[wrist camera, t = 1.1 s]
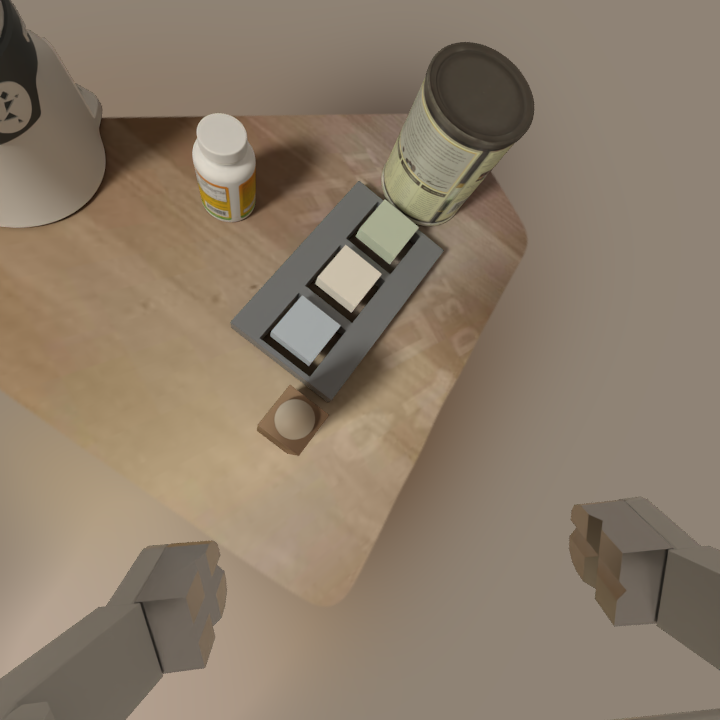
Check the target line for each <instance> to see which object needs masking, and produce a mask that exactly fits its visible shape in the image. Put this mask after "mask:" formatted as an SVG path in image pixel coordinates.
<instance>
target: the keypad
mask: <svg viewBox="0 0 720 720" xmlns="http://www.w3.org/2000/svg"><path fill="white" fill-rule="evenodd" d="M382 202H383V200H382V199H381V198H380V197H378V196H377V195H376V194H375V193H373V192H372V191H371V190H370V189H369V188H367V187H366V186H365V185H364V184H363V183H361V182H360V181H358V182H357V183H356V184H355V185H354V187H353V188H352V189H351V190H350V191H349V192H348V193H347V194H346V195H345V196H344V198H343V199H342V200H341V201H340V202H339V203H338V204H337V205H336V206H335V207H334V209H333V210H332V211H331V212H330V213H329V214H328V215H327V216H326V217H325V218H324V220H323V221H322V222H321V223H320V224H319V225H318V226H317V227H316V228H315V229H314V231H313V232H312V233H311V234H310V235H309V236H308V237H307V238H306V239H305V240H304V242H303V243H302V244H301V245H300V246H299V247H298V248H297V249H296V250H295V251H294V253H293V254H292V255H291V256H290V257H289V258H288V259H287V260H286V261H285V262H284V264H283V265H282V266H281V267H280V268H279V269H278V270H277V271H276V272H275V273H274V275H273V276H272V277H271V278H270V279H269V280H268V281H267V282H266V283H265V284H264V286H263V287H262V288H261V289H260V290H259V291H258V292H257V293H256V294H255V295H254V297H253V298H252V299H251V300H250V301H249V302H248V303H247V304H246V305H245V306H244V308H243V309H242V310H241V311H240V312H239V313H238V314H237V315H236V316H235V317H234V319H233V320H232V321H231V322H230V323H231V328H232V329H234V330H235V331H236V332H238V333H239V334H240V335H241V336H243V337H244V338H245V339H247V340H248V341H249V342H250V343H252V344H253V345H254V346H256V347H257V348H258V349H260V350H261V351H262V352H263V353H265V354H266V355H267V356H269V357H270V358H271V359H272V360H274V361H275V362H276V363H278V364H279V365H280V366H282V367H283V368H284V369H285V370H287V371H288V372H289V373H291V374H292V375H293V376H294V377H296V378H297V379H298V380H300V381H301V382H302V383H304V384H305V385H306V386H307V387H309V388H310V389H311V390H313V391H314V392H315V393H317V394H318V395H319V396H320V397H322V398H323V399H324V400H326V401H327V402H330V401H331V400H332V399H333V398H334V396H335V395H336V394H337V392H338V391H339V390H340V388H341V387H342V386H343V384H344V383H345V382H346V380H347V379H348V378H349V376H350V375H351V374H352V372H353V371H354V370H355V368H356V367H357V366H358V364H359V363H360V362H361V360H362V359H363V358H364V356H365V355H366V354H367V352H368V351H369V350H370V348H371V347H372V346H373V344H374V343H375V342H376V340H377V339H378V338H379V336H380V335H381V334H382V332H383V331H384V330H385V328H386V327H387V326H388V324H389V323H390V322H391V320H392V319H393V318H394V316H395V315H396V314H397V312H398V311H399V310H400V308H401V307H402V306H403V304H404V303H405V302H406V300H407V299H408V298H409V296H410V295H411V294H412V292H413V291H414V290H415V288H416V287H417V286H418V284H419V283H420V282H421V280H422V279H423V278H424V276H425V275H426V274H427V272H428V271H429V270H430V268H431V267H432V266H433V264H434V263H435V262H436V260H437V259H438V258H439V256H440V255H441V254H442V252H443V251H444V250H443V249H441V248H440V247H439V246H438V245H436V244H435V243H434V242H433V241H432V240H430V239H429V238H428V237H427V236H426V235H424V234H423V233H422V232H421V231H420V230H418V229H417V231H416V232H415V233H414V235H413V236H412V237H411V239H410V240H409V241H410V242H411V243H412V244H414V245H413V246H412V248H411V249H410V250H409V252H408V253H407V254H406V255H405V257H404V258H403V259H402V260H401V262H400V263H399V264H398V266H397V267H396V268H395V269H394V271H393V272H392V273H391V274H389V273H388V272H387V271H386V270H384V269H383V268H382V267H381V266H380V265H378V264H377V263H376V262H375V261H373V260H372V259H371V258H370V257H368V256H367V255H366V254H365V253H363V252H362V251H361V250H360V249H359V248H357V247H356V246H355V245H354V244H352V243H351V242H350V241H349V240H348V239H349V238H350V237H351V236H352V235H353V234H354V233H355V231H356V230H357V229H358V228H359V227H360V226H361V224H362V223H363V222H364V221H365V220H366V219H367V217H368V216H369V215H370V214H371V213H372V212H374V211H375V210H376V209H377V208H378V206H379V205H380V204H381V203H382ZM345 245H347V246H348V247H349V248H350V249H352V250H353V251H354V252H355V253H357V254H358V255H359V256H360V257H362V258H363V259H364V260H365V261H366V262H368V263H369V264H370V265H371V266H373V267H374V268H375V269H376V270H378V271H379V272H380V273H381V274H382V275H381V276H380V277H379V279H378V280H377V281H376V283H375V285H377V286H378V287H379V290H378V291H377V292H376V293H375V295H374V296H373V297H372V299H371V300H370V301H369V302H368V304H367V305H366V306H365V307H364V309H363V310H362V311H361V313H360V314H359V315H358V316H357V318H356V319H355V320H354V321H353V323H352V322H350V321H349V320H348V319H346V318H345V317H344V316H343V315H341V314H340V313H339V312H338V311H336V310H335V309H334V308H333V307H331V306H330V305H329V304H328V303H326V302H325V301H324V300H323V299H321V298H320V297H319V296H317V295H316V294H315V293H314V292H312V291H311V290H310V289H309V288H307V287H308V286H309V285H310V284H311V282H312V281H313V280H314V279H315V278H316V277H317V275H318V274H319V273H320V272H321V271H322V270H323V268H324V267H325V266H326V265H327V264H328V263H329V262H330V260H331V259H332V258H333V257H334V256H335V255H336V253H337V254H338V253H339V252H340V251H341V249H342V248H343V247H344V246H345ZM302 295H303V296H304V297H305V298H306V299H308V300H309V301H310V302H311V303H313V304H314V305H315V306H317V307H318V308H319V309H320V310H322V311H323V312H324V313H325V314H327V315H328V316H329V317H330V318H332V319H333V320H334V321H335V322H337V323H338V324H339V325H341V326H340V327H339V329H338V330H337V332H339V333H340V334H341V335H342V337H341V338H340V339H339V341H338V342H337V343H336V344H335V346H334V347H333V348H332V349H331V351H330V352H329V353H328V355H327V356H326V357H325V358H324V360H323V361H322V362H321V363H320V365H319V366H318V367H317V369H316V370H315V371H314V372H313V374H312V375H311V376H310V377H309V376H308V375H307V374H305V373H304V372H303V371H302V370H300V369H299V368H298V367H296V366H295V365H294V364H292V363H291V362H290V361H289V360H287V359H286V358H285V357H283V356H282V355H281V354H280V353H278V352H277V351H276V350H274V349H273V348H272V347H271V346H269V345H268V344H267V343H265V342H264V341H263V340H262V339H263V338H264V337H265V336H266V335H267V333H268V332H269V331H270V330H271V329H272V328H273V326H274V325H275V324H276V323H277V322H278V321H279V320H280V318H281V317H282V316H283V315H284V314H285V313H286V311H287V310H288V309H289V308H290V307H291V306H292V304H293V303H294V302H295V301H296V300H298V299H299V298H300V297H301V296H302Z"/></svg>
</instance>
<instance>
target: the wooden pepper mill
mask: <svg viewBox="0 0 720 720" xmlns="http://www.w3.org/2000/svg"><path fill="white" fill-rule="evenodd" d="M328 416H329V414H327V413H326V412H325V411H324V410H322V409H321V408H320V407H318V406H317V405H316V404H315V403H313V402H312V401H311V400H309V399H308V398H307V397H305V396H304V395H303V394H302V393H300V392H299V391H298V390H296V389H295V388H294V387H292V386H291V385H289V386H288V388H287V389H286V390H285V391H284V393H283V394H282V395H281V396H280V398H279V399H278V400H277V401H276V403H275V404H274V405H273V406H272V408H271V409H270V410H269V411H268V413H267V414H266V415H265V416H264V418H263V419H262V420H261V421H260V423H259V424H258V427H257V431H258V432H259V433H261V434H262V435H263V436H265V437H266V438H267V439H269V440H270V441H271V442H273V443H274V444H275V445H277V446H278V447H279V448H281V449H282V450H283V451H285V452H286V453H287V454H292V455H297V456H299V455H300V453H301V452H302V451H303V449H304V448H305V447H306V445H307V444H308V443H309V441H310V440H311V439H312V437H313V436H314V435H315V433H316V432H317V431H318V429H319V428H320V427H321V425H322V424H323V422H324V421H325V420H326V418H327V417H328Z"/></svg>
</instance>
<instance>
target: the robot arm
mask: <svg viewBox="0 0 720 720" xmlns="http://www.w3.org/2000/svg"><path fill="white" fill-rule="evenodd" d="M101 117H102V106H101V103H100V102H99V100H98V99H97V97H96V96H95V95H94V94H93V93H92V92H90V91H89V90H87V89H85V88H83V87H81V86H80V85H78V84H76V83H74V81H73V79H72V77H71V76H70V74H69V72H68V71H67V69H66V67H65V66H64V64H63V62H62V61H61V59H60V57H59V56H58V54H57V52H56V51H55V49H54V48H53V46H52V45H51V44H50V42H49V41H48V40H47V39H46V38H40V37H39V36H37V35H36V34H35V33H33V32H31V31H30V30H28V29H26V26H25V24H24V21H23V20H22V18H21V16H20V14H19V12H18V11H17V9H16V7H15V5H14V4H13V3H12V1H11V0H0V226H2V227H16V228H18V227H33V226H40V225H44V224H48V223H52V222H55V221H57V220H60V219H62V218H64V217H66V216H69V215H70V214H72V213H74V212H75V211H77V210H78V209H80V208H81V207H82V206H83V205H84V204H86V203H87V202H88V201H89V200H90V199H91V197H92V196H93V195H94V194H95V192H96V191H97V189H98V187H99V186H100V184H101V181H102V179H103V176H104V172H105V163H106V159H105V150H104V146H103V143H102V140H101V137H100V132H99V126H100V122H101ZM571 521H572V522H573V524H574V525H575V526H576V529H575V530H574V531H573V533H572V534H571V535H570V538H569V550H570V554H571V559H572V563H573V565H574V567H575V569H576V571H577V573H578V574H579V576H580V577H581V579H582V580H583V581H584V582H585V583H587V584H588V585H590V586H592V587H593V588H595V589H596V592H595V600H596V601H597V602H598V604H599V605H600V607H601V608H602V610H603V611H604V612H605V614H606V615H607V617H608V618H609V620H610V621H611V623H612V624H613V625H614V626H626V625H641V624H655V623H657V626H658V627H659V628H661V629H662V630H663V631H665V632H666V633H668V634H669V635H671V636H672V637H673V638H675V639H676V640H678V641H679V642H680V643H682V644H683V645H685V646H686V647H687V648H689V649H690V650H692V651H693V652H694V653H696V654H697V655H699V656H700V657H702V658H703V659H704V660H706V661H707V662H709V663H710V664H711V665H713V666H714V667H716V668H717V669H719V670H720V550H718V549H716V548H713V547H711V546H701V545H699V544H698V543H697V542H696V541H695V540H694V539H693V538H691V537H690V536H689V535H688V534H687V533H686V532H685V531H683V530H682V529H681V528H680V527H679V526H678V525H676V524H675V523H674V522H673V521H672V520H671V519H670V518H668V517H667V516H666V515H665V514H664V513H663V512H662V511H660V510H659V509H658V508H657V507H656V506H655V505H653V504H652V503H651V502H650V501H649V500H648V499H645V498H643V497H635V498H627V499H619V500H615V501H605V502H596V503H586V504H577V505H574V506H573V509H572V511H571ZM219 557H220V552H219V548H218V544H217V543H216V542H215V541H200V542H187V543H174V544H165V545H153V546H148V547H146V548H144V549H143V550H142V552H141V553H140V554H139V556H138V557H137V559H136V561H135V562H134V564H133V565H132V567H131V568H130V570H129V571H128V573H127V575H126V576H125V578H124V579H123V581H122V582H121V584H120V585H119V587H118V588H117V590H116V592H115V593H114V595H113V596H112V598H111V599H110V601H109V602H108V604H107V605H106V606H105V607H98V608H97V609H95V610H94V611H93V612H91V613H90V614H89V615H87V616H86V617H85V618H83V619H82V620H81V621H79V622H78V623H76V624H75V625H73V626H72V627H71V628H69V629H68V630H67V631H65V632H64V633H62V634H61V635H60V636H59V637H57V638H56V639H54V640H53V641H51V642H50V643H49V644H47V645H46V646H45V647H43V648H42V649H41V650H39V651H38V652H36V653H35V654H34V655H32V656H31V657H29V658H28V659H27V660H25V661H24V662H23V663H21V664H20V665H19V666H17V667H16V668H14V669H13V670H12V671H10V672H9V673H8V674H6V675H5V676H3V677H2V678H1V679H0V720H126V718H127V717H128V716H129V715H130V714H131V713H132V712H133V711H134V709H135V708H136V707H137V706H138V705H139V704H140V702H141V701H142V700H143V699H144V698H145V697H146V695H147V694H148V693H149V692H150V691H151V690H152V688H153V687H154V686H155V685H156V684H157V682H158V681H159V680H160V679H161V678H162V677H163V675H162V674H164V673H171V672H179V671H186V670H193V669H202V668H205V667H206V664H207V660H208V658H209V654H210V652H211V649H212V645H213V642H214V639H215V634H214V630H213V626H214V625H215V624H216V623H217V622H218V621H219V620H220V619H221V617H222V614H223V611H224V607H225V602H226V594H227V588H226V577H225V573H224V570H222V569H221V568H220V567H219V566H218V565H217V563H218V560H219ZM614 720H720V709H711V710H701V711H692V712H682V713H672V714H663V715H652V716H643V717H634V718H625V719H614Z"/></svg>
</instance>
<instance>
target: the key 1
mask: <svg viewBox="0 0 720 720" xmlns="http://www.w3.org/2000/svg"><path fill="white" fill-rule="evenodd" d="M340 326H341V325H339V324H338V323H337V322H335V321H334V320H333V319H332V318H330V317H329V316H328V315H327V314H325V313H324V312H323V311H322V310H320V309H319V308H318V307H317V306H315V305H314V304H313V303H311V302H310V301H309V300H308V299H306V298H305V297H304V296H303V295H302V296H301V297H300V298H299V299H298V301H297V302H296V303H295V304H294V305H293V306H292V308H291V309H290V310H289V311H288V312H287V313H286V315H285V316H284V317H283V318H282V319H281V320H280V322H279V323H278V324H277V325H276V326H275V327H274V329H273V330H272V331H271V335H270V336H271V337H272V338H273V339H274V340H276V341H277V342H278V343H280V344H281V345H282V346H283V347H285V348H286V349H287V350H289V351H290V352H291V353H293V354H294V355H295V356H296V357H298V358H299V359H300V360H302V361H303V362H304V363H305V364H307V365H308V366H310V364H311V363H312V362H313V360H314V359H315V358H316V357H317V355H318V354H319V353H320V352H321V350H322V349H323V348H324V347H325V345H326V344H327V343H328V342H329V340H330V339H331V338H332V337H333V335H334V334H335V333H336V332H337V330H338V329H339V327H340Z"/></svg>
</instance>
